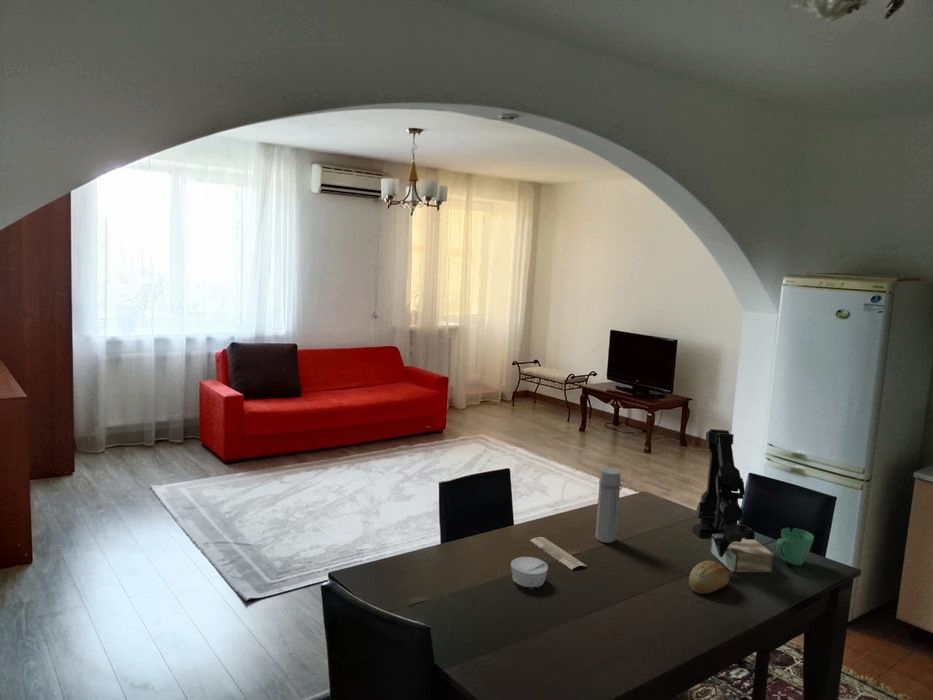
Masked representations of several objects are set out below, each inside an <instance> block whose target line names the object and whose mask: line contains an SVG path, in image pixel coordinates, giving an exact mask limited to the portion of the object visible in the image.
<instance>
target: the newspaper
mask: <svg viewBox="0 0 933 700" xmlns="http://www.w3.org/2000/svg"><path fill="white" fill-rule="evenodd" d="M530 541H531V542H533V543H534V544H535V545H534V544H533V543H532V544H533V545H534V546H536V545H537V546H538V547H539V548H538V547H537V546H536V547H537V548H538V549H540V548H541V549H543V550H544V551H545V552H544V551H543V550H542V551H543V552H544V553H546V552H547V553H548V554H547V553H546V554H547V555H549V554H550V555H551V556H552V557H551V556H550V555H549V556H550V557H551V558H553V557H554V558H555V559H554V558H553V559H554V560H556V559H557V560H558V561H557V560H556V561H557V562H559V563H560V562H561V563H560V564H562V563H563V564H564V565H566V566H567V567H568V568H567V567H566V566H565V567H566V568H567V569H569V568H570V569H571V571H573V569H575V568H577V567H580V566H581V567H583V568H587V567H588V565H586V564H585V563H583V562H582V561H580V560H579V559H578V558H575V557H574V556H573V555H571V554H570V553H568V552H566V551H565V550H564V549H562V548H560V547H559V546H557V545H556V544H555V543H553V542H552V541H550V540H549V539H547V538H546V537H543V536H537V537H533V538H532V539H530V540H529V542H530ZM531 542H530V543H531ZM541 549H540V550H541ZM563 564H562V565H563ZM564 565H563V566H564ZM570 569H569V570H570Z"/></svg>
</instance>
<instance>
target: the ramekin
mask: <svg viewBox="0 0 933 700" xmlns="http://www.w3.org/2000/svg"><path fill="white" fill-rule="evenodd" d="M510 568H511V576H512V577H511V578H512V580H513V582H514V583H515V582H516V583H517V584H519V585H522V586H525V587H537V588H539V586H540V587H542V586H543V585H544V583H545V581H546V578H547V573H548V571H549V566H548V564H547V563H546V562H545V561H543V560H542V559H539V558H537V557H532V556H520V557H517V558H515V559H513V560H511V562H510ZM516 583H515V584H516ZM517 584H516V585H517ZM519 585H518V586H519ZM525 587H524V588H525Z"/></svg>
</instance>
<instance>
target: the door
mask: <svg viewBox="0 0 933 700" xmlns="http://www.w3.org/2000/svg"><path fill="white" fill-rule="evenodd" d="M710 539H711V541H710V550H709V551H710V552H711V554H712V555H713V556H714V557H716V559H718V560H719V561H720V562H721V563H722V565H724V566H725V567H726V568H727V569H728V571H729V572H731V573H732V572H734V573H735V572H736V571H735V564H736V555H735V554H734V553H733V552H732V551H731V550H730V549H729V548H727V550H726V551H725V553H724V555H723V557H720V556H719V554H718V551H717V548H716V545H715V542H714V539H713V538H712V537H711V538H710Z"/></svg>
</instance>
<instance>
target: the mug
mask: <svg viewBox="0 0 933 700" xmlns="http://www.w3.org/2000/svg"><path fill="white" fill-rule="evenodd" d="M814 540H815V536H814V535H813V533H811V532H809V531H807V530H803V529H800V528H795V527H793V528H792V530H791V528H790V527H784V528H781V531H780V538H778V539H776V542H775V552H776V554H777V555H778V557H779V558H780V559H781V560H782V561H785V562H787V563H788V564H790V565H794V566H802V565H803V563H804V562H805V560H806V558H807V557H808V555H809V553H810V551H811V548H812V544H813V542H814Z"/></svg>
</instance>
